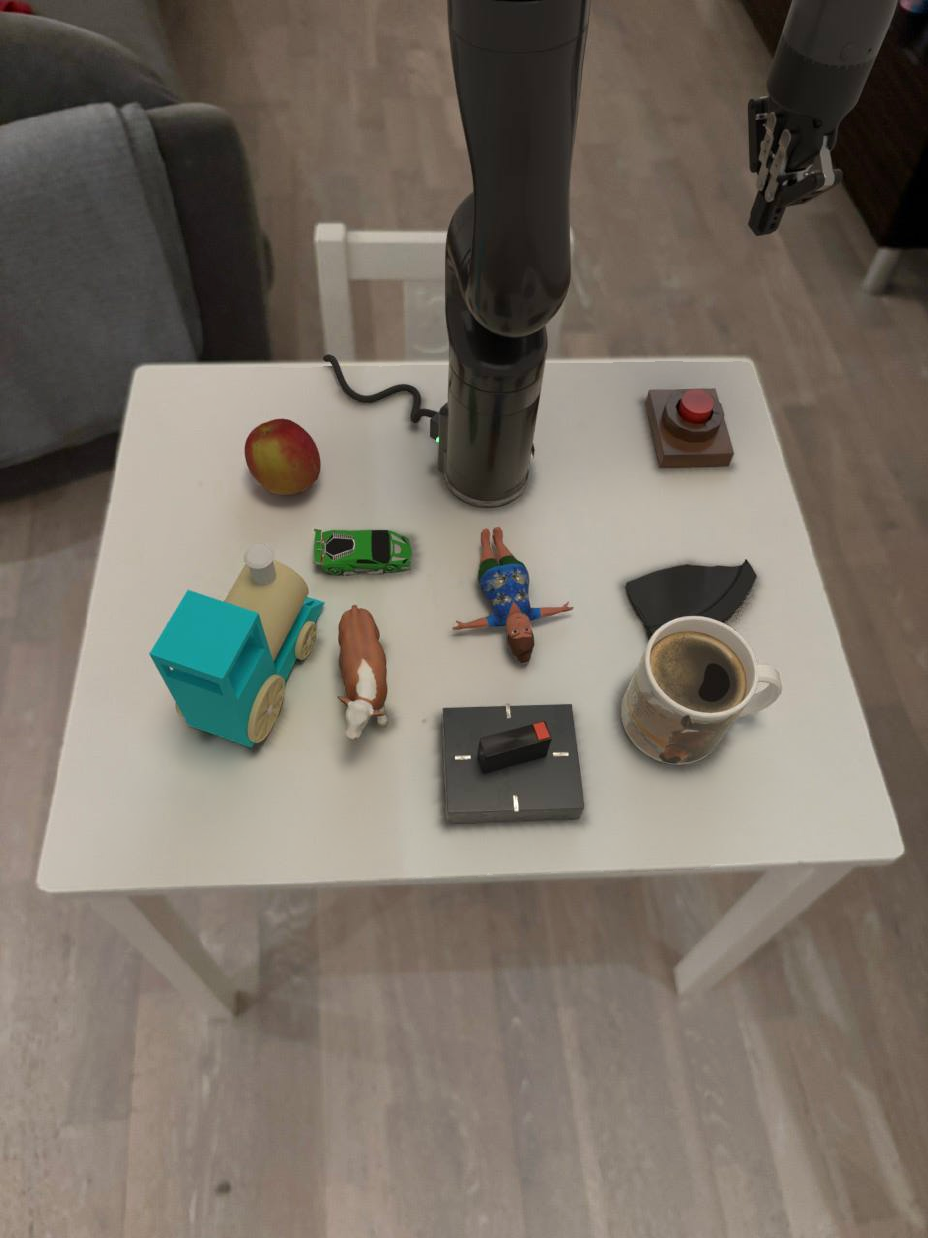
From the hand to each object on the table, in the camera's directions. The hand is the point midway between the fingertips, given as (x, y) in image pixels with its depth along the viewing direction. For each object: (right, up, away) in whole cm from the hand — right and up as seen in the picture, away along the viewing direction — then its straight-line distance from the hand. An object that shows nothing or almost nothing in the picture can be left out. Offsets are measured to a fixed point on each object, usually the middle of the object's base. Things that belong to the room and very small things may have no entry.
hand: (760, 229), depth 85 cm
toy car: (-38, -30, +10) cm, 50 cm away
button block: (-2, -15, +20) cm, 25 cm away
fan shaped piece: (-5, -35, +8) cm, 37 cm away
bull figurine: (-37, -44, +2) cm, 58 cm away
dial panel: (-24, -51, -2) cm, 56 cm away
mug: (-7, -47, +2) cm, 47 cm away
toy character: (-24, -35, +7) cm, 43 cm away
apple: (-47, -22, +14) cm, 54 cm away
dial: (-24, -49, -4) cm, 55 cm away
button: (-2, -13, +17) cm, 22 cm away
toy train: (-48, -41, +3) cm, 63 cm away
